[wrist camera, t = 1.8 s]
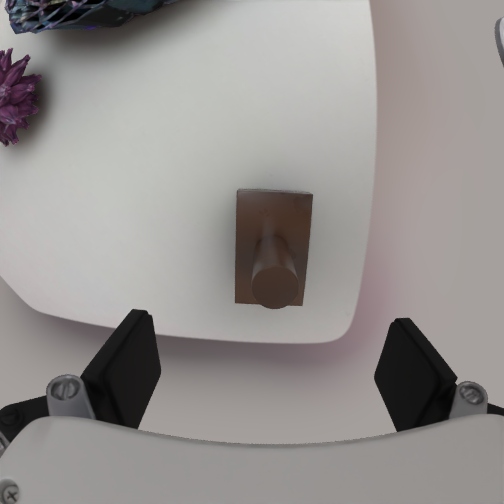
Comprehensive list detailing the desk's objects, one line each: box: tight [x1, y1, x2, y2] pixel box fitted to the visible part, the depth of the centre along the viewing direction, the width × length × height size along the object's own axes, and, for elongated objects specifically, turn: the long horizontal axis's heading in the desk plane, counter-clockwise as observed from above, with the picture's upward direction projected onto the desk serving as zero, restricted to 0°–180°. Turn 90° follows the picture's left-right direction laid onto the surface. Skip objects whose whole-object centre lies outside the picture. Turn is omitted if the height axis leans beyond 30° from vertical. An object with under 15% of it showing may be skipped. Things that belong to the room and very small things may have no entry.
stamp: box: [235, 189, 313, 309], centre depth 20 cm, size 9×6×10 cm, turn 178°
